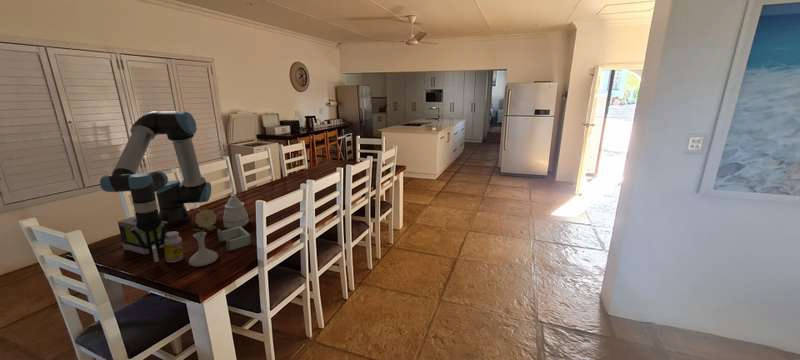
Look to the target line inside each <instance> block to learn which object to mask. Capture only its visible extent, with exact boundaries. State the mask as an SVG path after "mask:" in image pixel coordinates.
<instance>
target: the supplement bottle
mask: <svg viewBox="0 0 800 360" xmlns="http://www.w3.org/2000/svg"><path fill="white" fill-rule="evenodd" d="M179 233H180V232H178V231H168V232H166V233H165V241H164V247H163V250H164V258H165V261H166V262H167V263H176V262H180V261H181V260H183V259H184V248H183V247H184V246H183V241H182V240H183V239H182V237H181V236H179V235H180V234H179Z"/></svg>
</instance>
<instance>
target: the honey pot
mask: <svg viewBox="0 0 800 360" xmlns="http://www.w3.org/2000/svg"><path fill="white" fill-rule="evenodd" d="M244 206H245V203H244V202H243V201H241V200H240V198H238V197H237V195H236V194H230V197H229V199H228V200H227V202H226V204H225V205H224V211H223V212H224V213H223V214H222V219H223V227H224V228H226V229H232V228H236V227H240V226H241V227H242V228H243V227H245V226H247V225H248V224H249V223H248V222H250V221H249V220H250V219H249V214H248V212H247V210H246V208H245V207H244ZM247 223H248V224H247ZM246 224H247V225H246ZM244 225H245V226H244Z"/></svg>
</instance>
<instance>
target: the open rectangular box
mask: <svg viewBox="0 0 800 360" xmlns="http://www.w3.org/2000/svg"><path fill="white" fill-rule="evenodd" d="M217 235H218V236H217V237H218V241H219V242H224V241H225V245H226V250H227V252H229V251H232V250H237V249H239V248H240V249H241V248H243V247H246V246H250V245H252V235H251V234H250V233H249V232H248V231H246V230H245V229H244V228H243V226H242V227H241V226H240V227H236V228H227V229H223V230H222V229H220V228H219V229H218V228H217Z"/></svg>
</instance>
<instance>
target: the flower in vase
mask: <svg viewBox="0 0 800 360" xmlns="http://www.w3.org/2000/svg"><path fill="white" fill-rule="evenodd" d="M217 218H218V217H217V214H215V212H214V210H211V209H203V210H200V211H199V212H198V213H196V215H195V221H194V222H195V223H196V224H197V225H198V227H201V228H203V229H202V230H201V229H198V231H199V232H195V233H194V234H192V236H193V237H194V238H195V239H196V241H197V245H198V250H197V251H196V252H195V253H194V254H193V255H192V256H190V258H189V261H188V264H189V266H192V267H204V266H207V265H211V264H212V263H214V262H216V261H217V260H218V258H219V254H218V253H217V252H216V251H214V250H212V249H208V248H207V247H206V244H205V238H206V236H207V232H205V229H206V230H207V231H213V230H214V229H216V228H217V226H215V225H214V224H216V220H217ZM192 230H194V231H197V229H195V228H192Z"/></svg>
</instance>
